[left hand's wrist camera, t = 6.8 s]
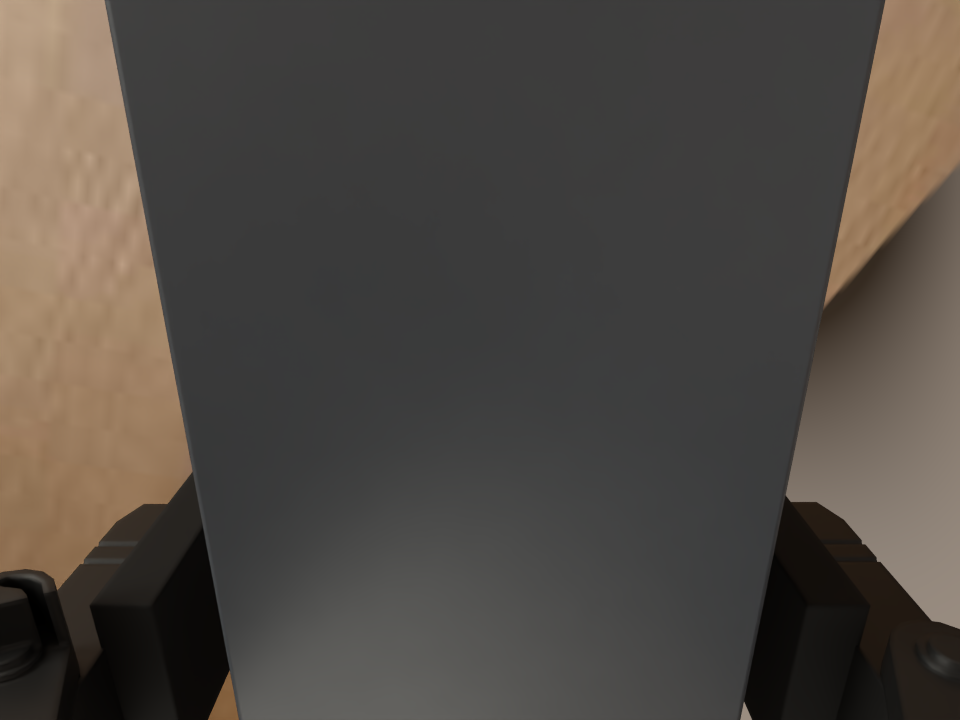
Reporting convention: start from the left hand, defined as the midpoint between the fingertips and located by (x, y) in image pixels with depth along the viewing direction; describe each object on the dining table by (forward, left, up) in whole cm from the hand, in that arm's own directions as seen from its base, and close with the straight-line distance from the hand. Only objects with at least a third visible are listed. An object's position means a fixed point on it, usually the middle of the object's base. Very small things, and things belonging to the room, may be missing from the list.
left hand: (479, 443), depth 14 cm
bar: (+8, +8, -1) cm, 11 cm away
